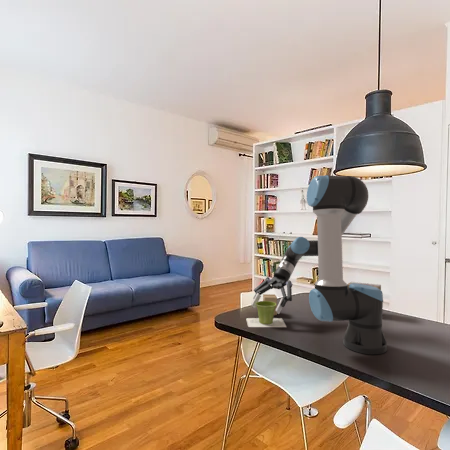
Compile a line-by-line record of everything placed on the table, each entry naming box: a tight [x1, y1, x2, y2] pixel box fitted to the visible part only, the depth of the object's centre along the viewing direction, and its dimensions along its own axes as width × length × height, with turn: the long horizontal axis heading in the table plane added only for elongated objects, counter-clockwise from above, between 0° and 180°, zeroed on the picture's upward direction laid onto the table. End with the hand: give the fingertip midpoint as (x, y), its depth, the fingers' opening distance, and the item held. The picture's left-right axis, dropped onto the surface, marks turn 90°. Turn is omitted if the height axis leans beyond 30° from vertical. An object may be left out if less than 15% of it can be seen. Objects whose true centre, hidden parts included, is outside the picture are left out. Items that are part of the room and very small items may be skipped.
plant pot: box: [256, 300, 276, 324], centre depth 149 cm, size 9×9×9 cm
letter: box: [246, 317, 287, 328], centre depth 149 cm, size 12×17×1 cm
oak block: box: [262, 293, 278, 316], centre depth 163 cm, size 6×6×9 cm
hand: (264, 309), depth 148 cm, fingers open, 13 cm apart
